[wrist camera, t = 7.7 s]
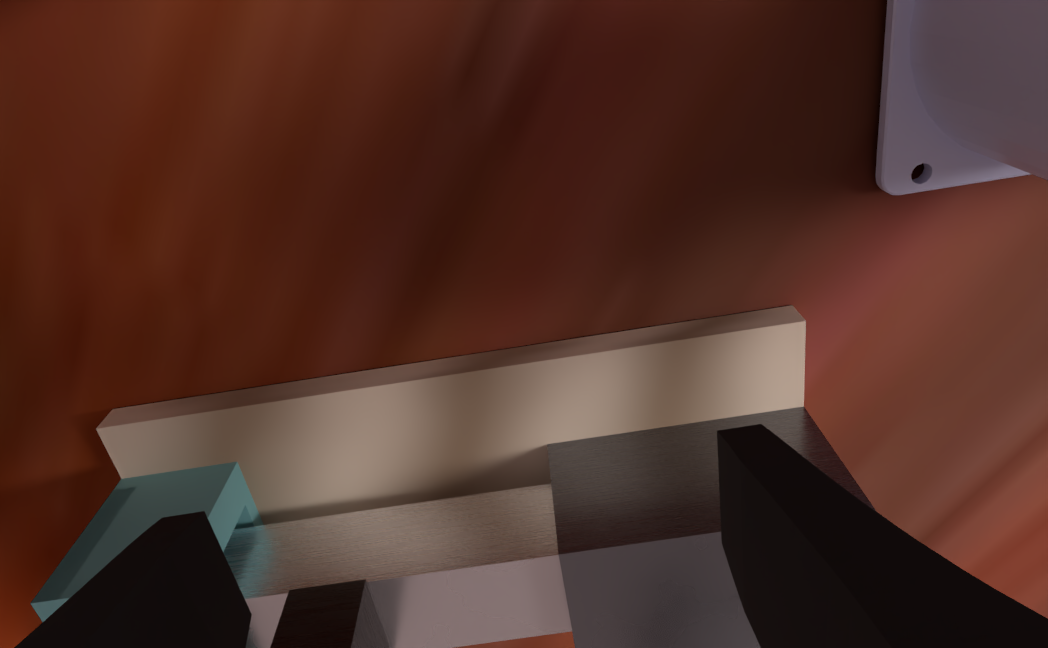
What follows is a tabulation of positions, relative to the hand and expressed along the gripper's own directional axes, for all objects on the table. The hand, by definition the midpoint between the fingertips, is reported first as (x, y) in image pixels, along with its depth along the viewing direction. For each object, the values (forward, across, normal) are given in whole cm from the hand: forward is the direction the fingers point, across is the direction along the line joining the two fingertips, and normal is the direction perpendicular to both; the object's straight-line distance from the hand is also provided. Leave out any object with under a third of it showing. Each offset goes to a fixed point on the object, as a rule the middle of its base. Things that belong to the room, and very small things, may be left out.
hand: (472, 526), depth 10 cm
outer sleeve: (+10, -5, +8) cm, 14 cm away
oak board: (+10, +2, +8) cm, 13 cm away
